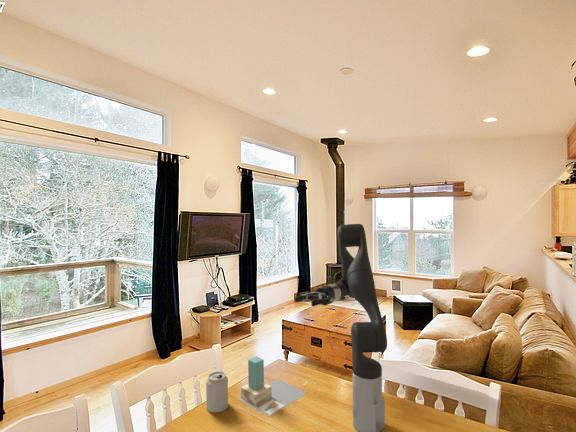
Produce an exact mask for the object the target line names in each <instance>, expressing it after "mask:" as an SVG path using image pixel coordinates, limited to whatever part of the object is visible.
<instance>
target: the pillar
mask: <svg viewBox="0 0 576 432" xmlns="http://www.w3.org/2000/svg"><path fill="white" fill-rule="evenodd" d="M264 362H265V361H264V358H261V357H258V356H254V357H252V358H250V359H248V361H247V363H248V364H247V366H248V367H247V369H248V372H247V373H248V374H247V375H248V377H247V378H248V379H247V380H248V383H249V387H250V388H252V389H253V390H255V391H256V390H258V389H260V388H262V387H264V383H265V379H264V378H265V377H264V376H265V372H264V371H265V363H264Z"/></svg>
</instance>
